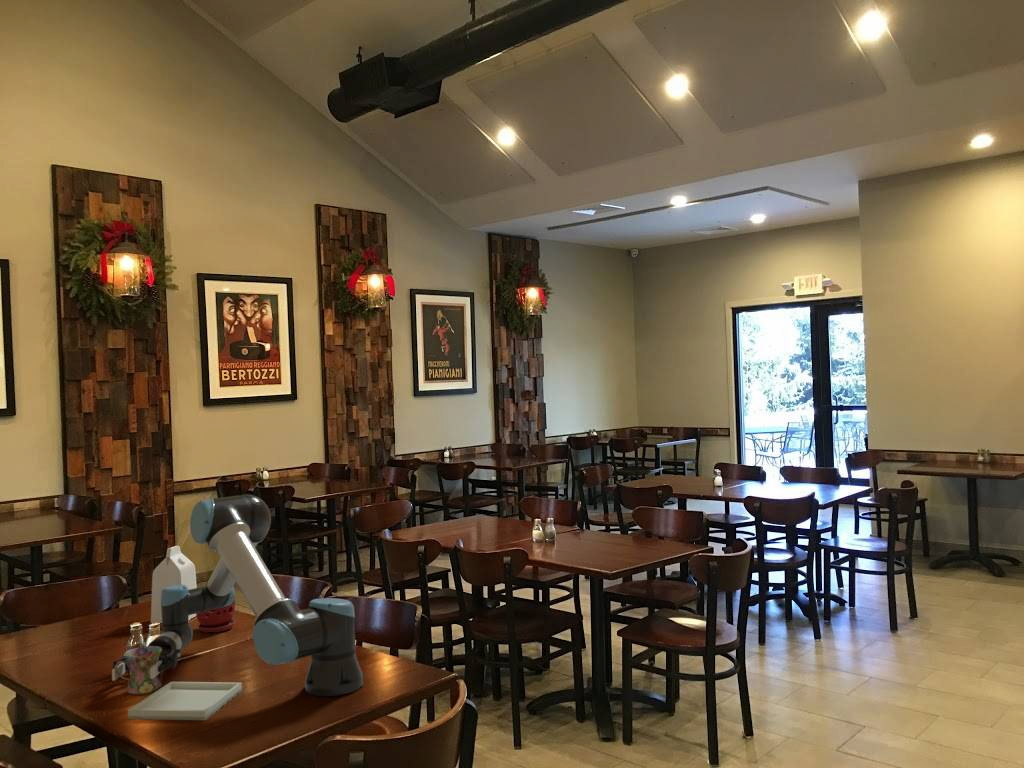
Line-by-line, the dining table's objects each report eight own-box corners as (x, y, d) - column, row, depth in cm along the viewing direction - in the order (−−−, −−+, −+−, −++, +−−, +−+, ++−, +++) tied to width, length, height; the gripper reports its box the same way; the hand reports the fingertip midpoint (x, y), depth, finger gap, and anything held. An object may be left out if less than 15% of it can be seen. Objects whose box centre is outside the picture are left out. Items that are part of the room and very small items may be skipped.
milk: (168, 616, 303) (166, 544, 303) (198, 616, 301) (196, 544, 302) (150, 625, 291) (148, 550, 291) (182, 625, 289) (180, 550, 290)
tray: (242, 690, 223) (241, 682, 223) (205, 720, 203) (205, 711, 203) (171, 689, 225) (171, 681, 225) (128, 718, 205) (127, 709, 205)
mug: (154, 682, 232) (153, 643, 232) (168, 689, 225) (167, 650, 225) (108, 694, 223) (107, 654, 223) (122, 702, 216) (121, 661, 217)
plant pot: (231, 621, 293) (230, 587, 293) (239, 630, 281) (238, 594, 281) (191, 628, 286) (190, 593, 286) (198, 637, 275) (197, 600, 275)
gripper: (202, 659, 243) (175, 686, 221) (125, 663, 242) (90, 690, 219) (201, 633, 243) (174, 658, 221) (124, 637, 242) (89, 662, 220)
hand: (132, 674), depth 220 cm, fingers closed on mug, 9 cm apart
